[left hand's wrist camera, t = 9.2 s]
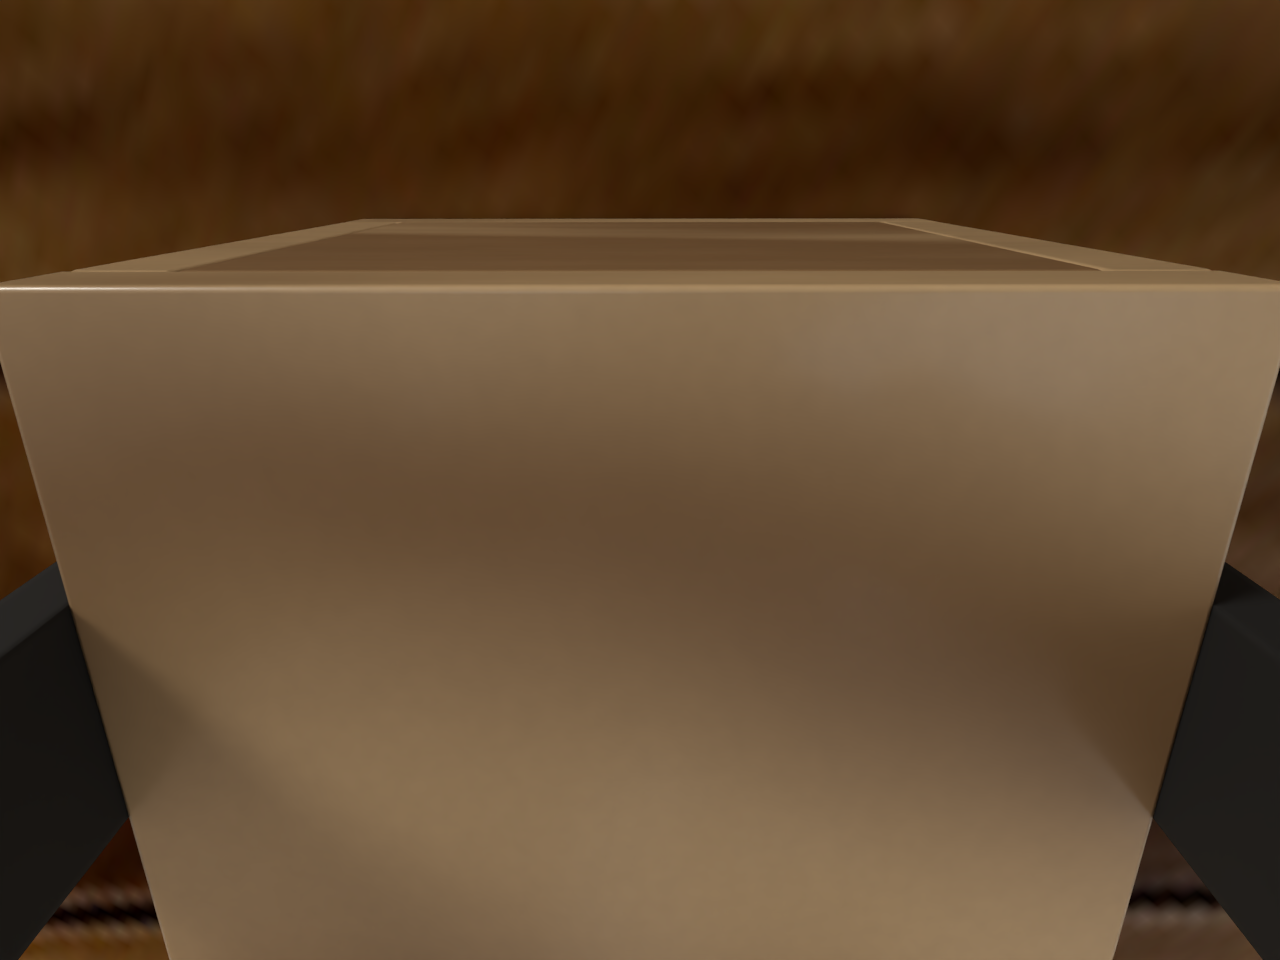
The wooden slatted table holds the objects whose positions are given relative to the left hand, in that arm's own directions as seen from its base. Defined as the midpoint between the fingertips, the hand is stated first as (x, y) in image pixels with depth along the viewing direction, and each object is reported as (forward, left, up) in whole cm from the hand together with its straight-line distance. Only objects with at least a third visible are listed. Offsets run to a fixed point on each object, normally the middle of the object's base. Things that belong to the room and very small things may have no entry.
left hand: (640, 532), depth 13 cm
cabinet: (0, +6, -6) cm, 8 cm away
